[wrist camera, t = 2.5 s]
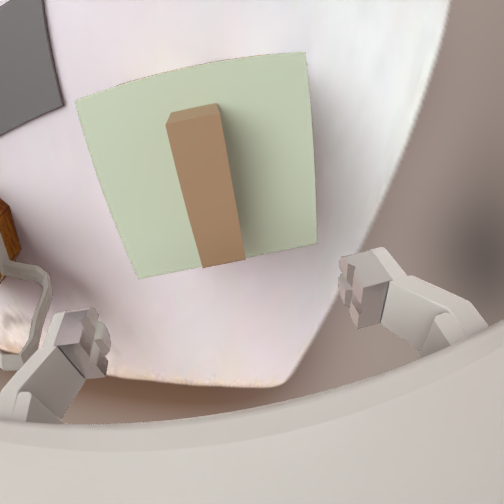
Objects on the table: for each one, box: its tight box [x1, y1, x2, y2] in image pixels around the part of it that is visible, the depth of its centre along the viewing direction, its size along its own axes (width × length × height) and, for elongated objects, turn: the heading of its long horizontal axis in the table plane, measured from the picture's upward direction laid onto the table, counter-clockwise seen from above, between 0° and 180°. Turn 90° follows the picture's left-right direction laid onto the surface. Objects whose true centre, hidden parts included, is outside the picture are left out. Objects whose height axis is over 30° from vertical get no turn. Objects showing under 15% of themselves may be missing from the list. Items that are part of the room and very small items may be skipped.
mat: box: [0, 0, 64, 135], centre depth 17 cm, size 10×12×1 cm
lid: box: [75, 52, 317, 279], centre depth 17 cm, size 12×12×6 cm
